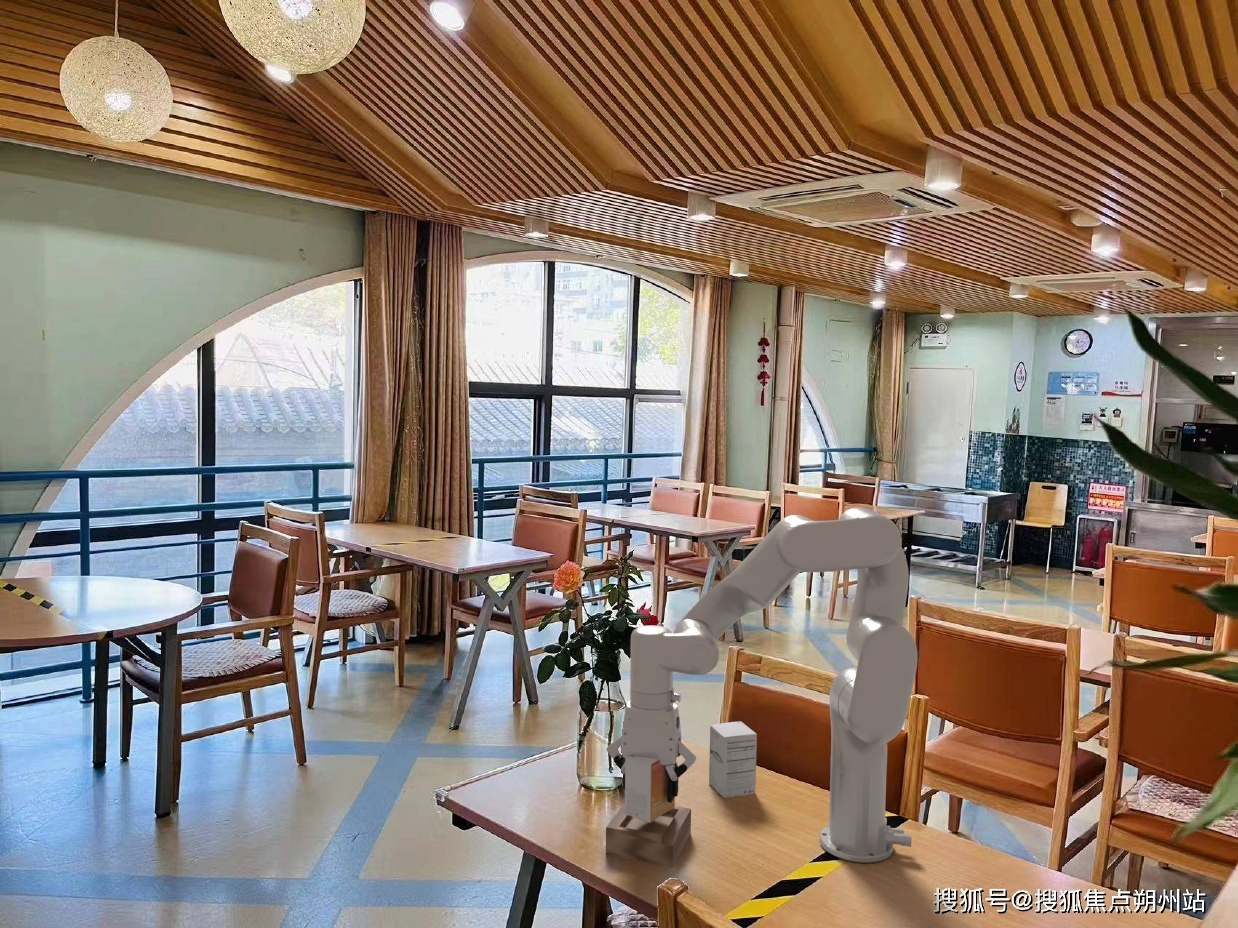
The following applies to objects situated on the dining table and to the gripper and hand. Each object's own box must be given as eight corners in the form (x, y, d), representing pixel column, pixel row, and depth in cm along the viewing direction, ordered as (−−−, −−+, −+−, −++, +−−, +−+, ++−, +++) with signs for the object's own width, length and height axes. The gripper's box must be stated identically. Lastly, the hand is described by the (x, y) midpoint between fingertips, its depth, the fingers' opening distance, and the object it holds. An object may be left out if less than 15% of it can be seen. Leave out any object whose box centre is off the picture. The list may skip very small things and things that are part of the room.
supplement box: (707, 783, 184) (708, 723, 183) (740, 779, 186) (742, 720, 185) (722, 799, 177) (723, 736, 176) (756, 794, 179) (758, 732, 178)
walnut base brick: (690, 836, 162) (691, 808, 162) (672, 868, 151) (672, 839, 151) (627, 825, 166) (628, 798, 166) (605, 856, 155) (606, 827, 155)
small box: (650, 824, 153) (650, 764, 153) (623, 814, 157) (624, 756, 156) (675, 807, 160) (676, 749, 159) (650, 798, 163) (650, 742, 162)
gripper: (704, 696, 158) (703, 794, 159) (610, 686, 163) (609, 781, 164) (695, 710, 151) (694, 812, 152) (597, 699, 156) (596, 798, 157)
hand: (650, 795), depth 158 cm, fingers closed on small box, 7 cm apart
